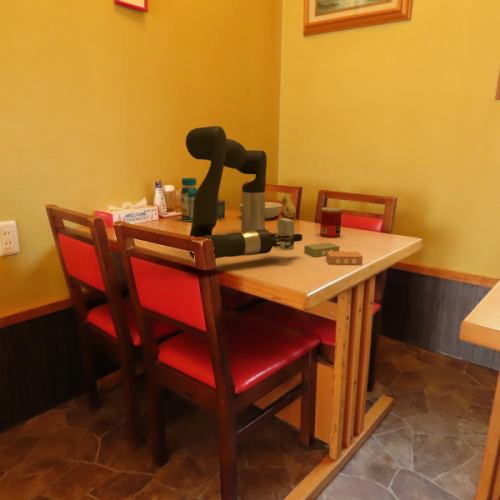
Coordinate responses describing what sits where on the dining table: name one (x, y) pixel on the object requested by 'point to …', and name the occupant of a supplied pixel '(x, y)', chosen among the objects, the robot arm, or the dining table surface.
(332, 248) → the digit tile 2
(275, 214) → the serving bowl
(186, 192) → the beverage bottle
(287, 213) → the yellow pear
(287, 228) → the digit tile 1
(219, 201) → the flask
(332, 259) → the digit tile 3
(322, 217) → the canned food
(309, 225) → the dining table surface
